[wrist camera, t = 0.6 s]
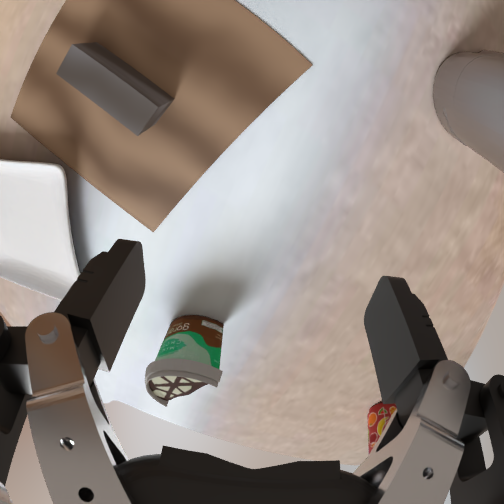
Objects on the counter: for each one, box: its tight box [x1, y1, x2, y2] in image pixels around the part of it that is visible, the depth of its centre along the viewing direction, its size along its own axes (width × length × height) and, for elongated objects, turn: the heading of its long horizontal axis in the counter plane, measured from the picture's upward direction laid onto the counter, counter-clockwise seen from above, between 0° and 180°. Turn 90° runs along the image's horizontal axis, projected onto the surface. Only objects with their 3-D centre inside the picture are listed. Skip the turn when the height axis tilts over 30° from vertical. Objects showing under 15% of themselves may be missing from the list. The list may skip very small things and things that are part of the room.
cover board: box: [11, 0, 312, 232], centre depth 21 cm, size 23×23×5 cm
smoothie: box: [368, 402, 397, 454], centre depth 46 cm, size 8×8×20 cm
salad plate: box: [0, 159, 80, 301], centre depth 32 cm, size 21×21×3 cm
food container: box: [145, 315, 224, 407], centre depth 37 cm, size 12×6×10 cm, turn 136°
